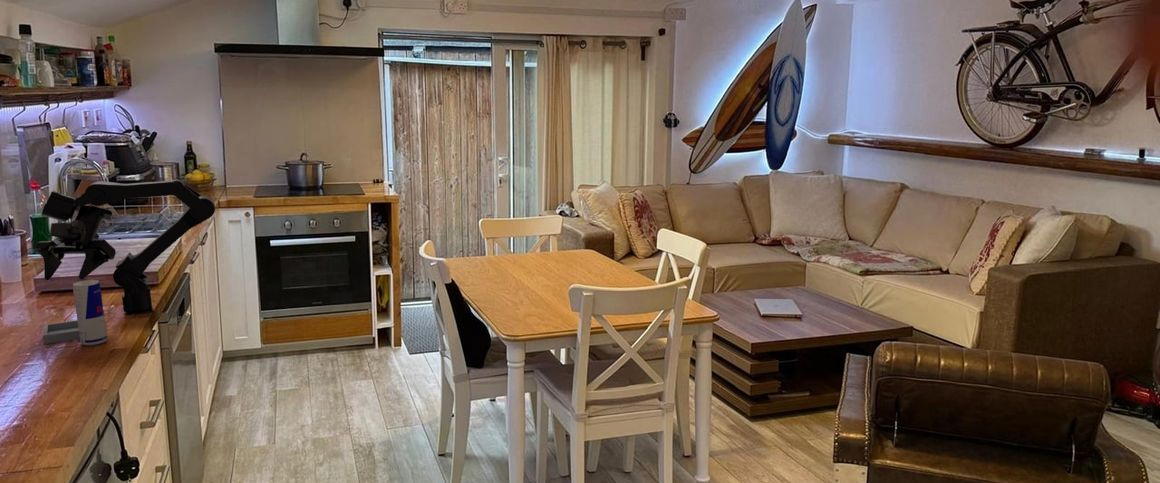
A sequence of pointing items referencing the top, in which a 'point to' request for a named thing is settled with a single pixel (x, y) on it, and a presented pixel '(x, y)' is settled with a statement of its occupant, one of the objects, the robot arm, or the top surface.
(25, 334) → the top surface
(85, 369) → the top surface
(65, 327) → the tray
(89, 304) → the beverage can
